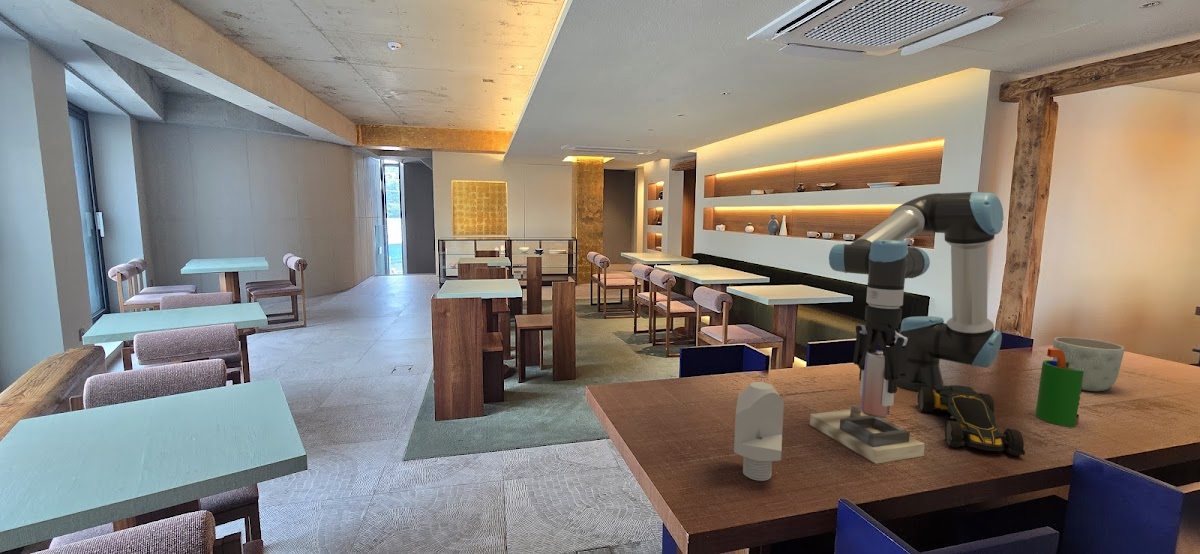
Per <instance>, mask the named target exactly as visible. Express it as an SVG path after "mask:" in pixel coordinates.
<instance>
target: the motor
mask: <svg viewBox="0 0 1200 554" xmlns="http://www.w3.org/2000/svg"><path fill="white" fill-rule="evenodd" d="M1046 353H1047V354H1046V356H1047V357H1049V358H1053V357H1057V361H1056V360H1053V359H1047V360H1042V364H1041V370H1040V372H1041V373H1040V376H1039V377H1040V379H1039V384H1038V393H1037V399H1036V407H1035V414H1034V415H1035V416H1036V417H1037V418H1038V419H1039V420H1042V421H1045V422H1047V423H1050V424H1053V425H1059V426H1061V427H1062V426H1064V427H1069V428H1075V427H1076V426H1078V425H1079V420H1080V415H1079V414H1078V411H1079V407H1080V401H1081V394H1082V390H1081V388H1082V382H1083V376H1084V371H1081V370H1076V369H1071V368H1068V367H1069V362H1066V359H1065V355H1064V353H1063V351H1061V350H1059V349H1056V348H1053V347H1051V348H1048V349H1047V352H1046Z"/></svg>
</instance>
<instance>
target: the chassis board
mask: <svg viewBox="0 0 1200 554" xmlns="http://www.w3.org/2000/svg"><path fill="white" fill-rule="evenodd" d="M809 416H810V417H809V418H810V419H809V426H811V427H813V428H815V429H816V430H818V431H820V432H821V433H823V434H825V435H827V436H828V437H830V438H831V439H833V440H835V441H837V442H838V443H840V444H842V445H844V446H845V447H847V448H848V449H851V450H852V451H853V452H855V453H857V454H858V455H860V456H862V457H863V458H865V459H867V460H869V461H871V462H872V463H873V464H876V465H877V464H882V463H889V462H894V461H900V460H902V461H903V460H908V459H912V458H913V459H914V458H920V457H924V456H925V446H926V445H925V443H924V442H922V441H920V440H918V439H916V438H913V437H911V436H910V434H911V431H908V430H907V429H904V428H903V427H901V426H898V425H896V424H894V423H892V422H890V421H888V420H886V419H883V418H877V417H872V416H869V415H866V414H864V413H863V412H862V409H861V405H857V404H851V405H850V409H841V410H833V411H826V412H825V411H824V412H817V413H810V415H809Z"/></svg>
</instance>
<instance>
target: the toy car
mask: <svg viewBox="0 0 1200 554" xmlns="http://www.w3.org/2000/svg"><path fill="white" fill-rule="evenodd" d="M917 406H918V410H919V411H920V412H921V413H929V414H930V413H931V412H933V411H934V409H935V410H941V411H942V412H943V413H944V412H946V413H949V414H950V415H951V416H950V417H949V418H950V419H956V421H952V420H948V421H946V423H945V425H944V439H945V442H946V444H947V446H949V447H953V448H960V446H962V447H965V444H966V445H967V446H968V447H972V448H976V449H980V450H984V451H990V452H991V451H992V452H1003V451H1005V452H1006V454H1007V455H1008V456H1013V457H1020V456H1022V455H1023V456H1025V455H1026V451H1025V450H1024V449H1025V448H1024V444H1025V443H1024V438H1023V435H1022V432H1021V431H1020V430H1018V429H1016V428H1006V429H1005V430H1004V431H1003V433H1002V432H999V431H998V429H997V427H998V426H997V424H996V417H995V414H994V413H995V404H994V399H993V397H992V396H991V394H989V393H981V392H980V393H978V392H977V391H975V390H974V389H973V388H972V387H971V386H966V385H965V386H964V385H954V384H952V385H944V387H941V385H935V387H934V390H932V389H931V388H929V387H920V388H919V391H917Z"/></svg>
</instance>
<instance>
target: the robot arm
mask: <svg viewBox="0 0 1200 554" xmlns="http://www.w3.org/2000/svg"><path fill="white" fill-rule="evenodd" d="M1003 209H1004V208H1003V205H1002V201H1001V199H1000V198H999V196H997V195H996V194H995V193H993V192H979V191H969V192H966V191H965V192H947V193H946V192H945V193H944V192H943V193H939V192H937V193H929V194H924V195H922V196H919V197H916V198H913V199H910V200H909V201H906V202H905V203H902V204H900V205H899V206H898V207H896V208H895V209H893V211H892V212H891V213H890V216H888V217H887V219H885V220H883V221H882V222H880V223H879V224H877V225H876V226H875V227H873V228H872V229H870V230H869V231H867V232H866V233H864V234H863V235H862V236H860V237H859V238H857V239H856V240H855V241H854V240H853V242H851V243H850V244H849V243H847V244H846V243H837V244H834V245H833V246H832V248H831V249H830V251H829V255H828V264H829V266H830V268H831V269H832V270H833V271H835V272H841V273H845V274H860V275H867V287H866V301H865V302H866V303H867V305H865V310H864V311H865V313H864V320H865V321H866V324H862V325H855V334H856V336H855V337H856V339H855V344H854V353H853V360H852V362H853V365H857V367H858V368H859V377H858V379H859V382H860V388H859V396H860V397H862V391H863V379H864V367H865V356H866V354H867V351H868V352H872V351H876V350H878V348H879V347H880V351H883V356H885V368H886V374H887V377H885V378H884V381H883V393H882V406H890V407H891V406H894V403H895V402H894V401H895V394H896V393H897V391H898V387H899V388H902V389H906V390H910V391H916V392H919V388H920V387H929V388H931V389H932V390H934V387H935V385H941V387H944V386H945V381H944V380H943V376H942V371H941V367H940V360H942V361H943V360H944V361H948V362H951V363H952V362H953V363H958V364H962V365H966V366H970V367H977V368H986V369H987V368H989V367H991V366H992V365H993V364H994V363H995V361H996V360H997V357H998V354H999V352H1000V349H1001V345H1002V341H1003V335H1002V332H1001V331H999V330H994V327H995V326H994V322H993V321H991V320H990V319H989V318H988V257H989V256H988V252H989V251H988V249H989V246H988V245H989V244H990V243H991V242H992V241H994V240H995V235H998V234H1000V233H1001V231H1002V229H1003V225H1004V223H1003V222H1004V210H1003ZM921 233H937V234H944V241H945V242H946V244H948V245H950V254H951V256H950V257H951V258H950V259H951V261H950V265H951V268H950V269H951V310H952V311H951V313H952V314H951V315H952V317H951V318H949V319H948V320H947V321H946V323H945V319H944V318H943V317H940V316H931V315H930V316H929V315H928V316H922V315H921V316H917V315H916V316H909V317H905V318H903V317H902V315H903V309H902V308H901V307H902V306H904V294H905V293H904V292H905V280H906V279H914V278H917V277H920V276H922V275H924V274H925V273H926V272H927V271H928V269H929V267H930V263H931V260H930V257H929V254H928V253H927V252H926V251H925V250H923V249H922V248H920V247H916V246H909V245H908V243H907V242H906V241H905V239H907V238H908V237H913V236H917V235H918V234H921ZM902 318H903V319H902ZM899 326H900V330H899Z"/></svg>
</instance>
